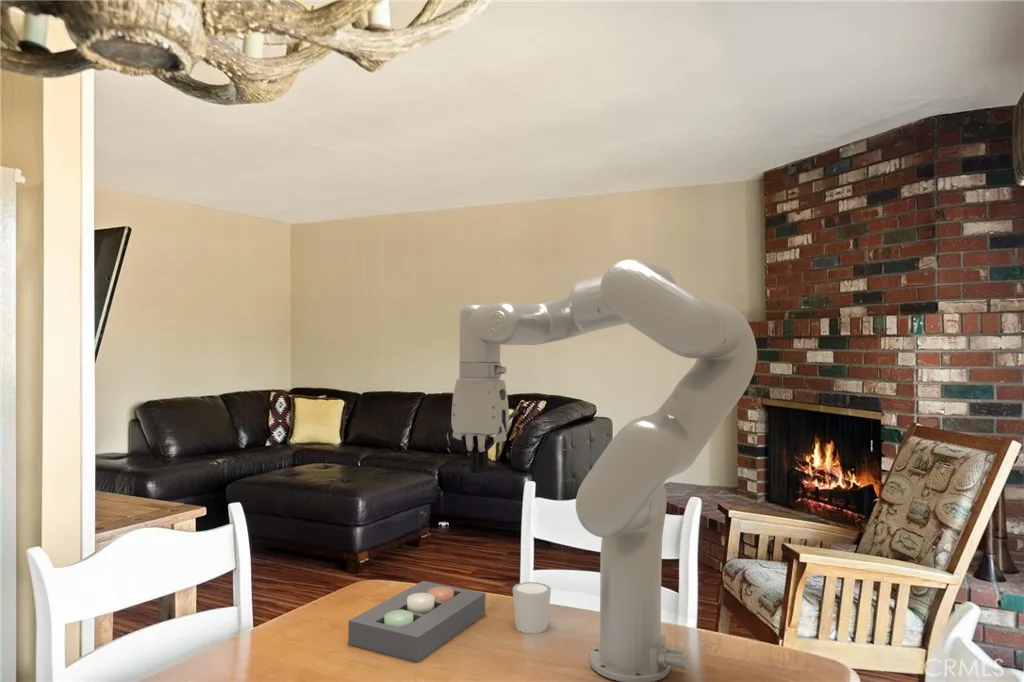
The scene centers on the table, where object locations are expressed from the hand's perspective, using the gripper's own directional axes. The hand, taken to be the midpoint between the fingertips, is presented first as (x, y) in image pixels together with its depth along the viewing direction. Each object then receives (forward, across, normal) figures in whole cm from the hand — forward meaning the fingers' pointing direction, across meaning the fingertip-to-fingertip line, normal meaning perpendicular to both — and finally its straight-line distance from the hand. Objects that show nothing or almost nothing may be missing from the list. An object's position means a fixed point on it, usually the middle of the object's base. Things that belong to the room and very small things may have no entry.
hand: (478, 472), depth 126 cm
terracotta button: (+26, +7, +2) cm, 27 cm away
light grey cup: (+27, -10, -2) cm, 29 cm away
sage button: (+25, +7, +14) cm, 30 cm away
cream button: (+26, +7, +8) cm, 28 cm away
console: (+27, +7, +8) cm, 29 cm away
